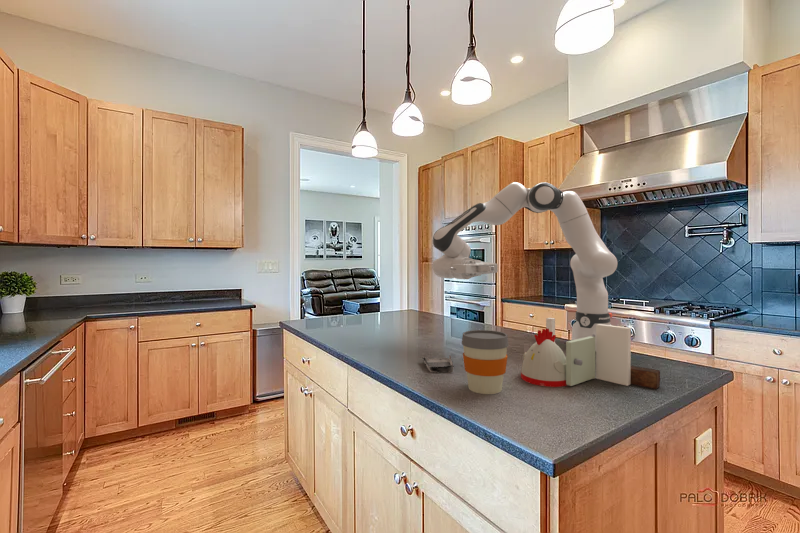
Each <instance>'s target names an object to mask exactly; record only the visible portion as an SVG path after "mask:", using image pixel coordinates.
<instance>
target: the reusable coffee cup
mask: <svg viewBox="0 0 800 533" xmlns="http://www.w3.org/2000/svg"><path fill="white" fill-rule="evenodd" d="M461 345H462V346H463V347H462V348H463V352H462V358H463V359H462V360H463V364H464V367H463V368H464V371H465V372H466V378H467V385H468V386H467V387H468V390H470V391H471V392H473V393H476V394H482V395H494V394H499V393H501V392H502V391H503V382H504V377H505V376H504V374H505V373H506V371H507V363H508V354H507V351H508V350H507V349H508V347H509V338H508V334H507V333H505V332H502V331H497V330H489V329H478V330H477V329H473V330H468V331H464V332H463V333H462V336H461Z"/></svg>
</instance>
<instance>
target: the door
mask: <svg viewBox="0 0 800 533" xmlns="http://www.w3.org/2000/svg"><path fill="white" fill-rule="evenodd" d="M565 356H566V385H567V386H569V387H572V386H575V385H576V386H577V385H579V384H581V383H584V382H586V381H587V382H588V381H590V380H593V378H595V379H596V351H595V337H592V336H589V337H585V338H580V339H576V340H572V339H571V340H568V341H565Z"/></svg>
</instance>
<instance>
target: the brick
mask: <svg viewBox="0 0 800 533" xmlns="http://www.w3.org/2000/svg"><path fill="white" fill-rule="evenodd" d="M630 385H632V386H633V385H634V386H638V387H642V388H643V387H644V388H648V389H653V390H658V388H659V387H660V386H661V370H660V369H653V368H648V367H641V366H636V365H631V384H630Z"/></svg>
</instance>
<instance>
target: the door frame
mask: <svg viewBox="0 0 800 533" xmlns="http://www.w3.org/2000/svg"><path fill="white" fill-rule="evenodd" d="M546 328H547V329H549V332H553V334H552V336H553V335H556V318H554V317H546V318H545V329H546ZM631 330H632V327H629V326H628V327H626V326H619V325H613V324H611V325H604V324H597V325H596V351H595V378H593V379H594V380H596V379H597V380H602V381H605V382H609V383H613V384H617V385H622V386H627V387H628V386H630V385H632V384H631V366H632V365H631V362H632V358H631V356H632V354H631V353H632V352H631V348H632V347H631V344H632V342H631V341H632V340H631V337H632V334H631V332H632V331H631ZM592 337H595V335H594V334H593V335H592ZM554 343H556V340H555V341H554ZM593 379H592V380H593Z"/></svg>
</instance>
